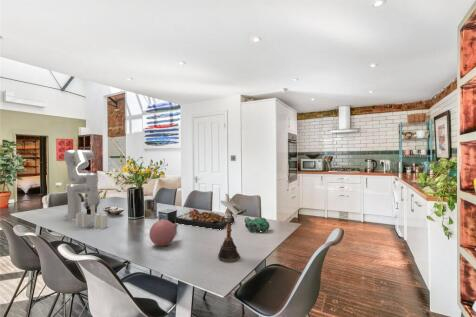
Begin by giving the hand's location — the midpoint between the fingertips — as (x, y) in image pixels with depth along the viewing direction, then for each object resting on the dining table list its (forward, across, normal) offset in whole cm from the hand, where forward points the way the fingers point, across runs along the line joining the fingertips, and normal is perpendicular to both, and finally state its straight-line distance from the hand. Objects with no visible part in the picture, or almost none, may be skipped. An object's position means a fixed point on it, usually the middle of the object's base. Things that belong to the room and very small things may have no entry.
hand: (91, 213), depth 180 cm
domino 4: (+11, 0, -5) cm, 12 cm away
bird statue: (+13, -29, -117) cm, 121 cm away
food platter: (+13, +34, -77) cm, 85 cm away
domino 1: (+10, 0, +11) cm, 15 cm away
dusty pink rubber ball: (+12, -18, -71) cm, 74 cm away
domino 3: (+2, 0, 0) cm, 2 cm away
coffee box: (+12, +37, -26) cm, 47 cm away
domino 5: (+11, 0, -11) cm, 15 cm away
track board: (+11, 0, 0) cm, 11 cm away
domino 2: (+11, 0, +6) cm, 12 cm away
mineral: (+13, +21, -123) cm, 126 cm away
